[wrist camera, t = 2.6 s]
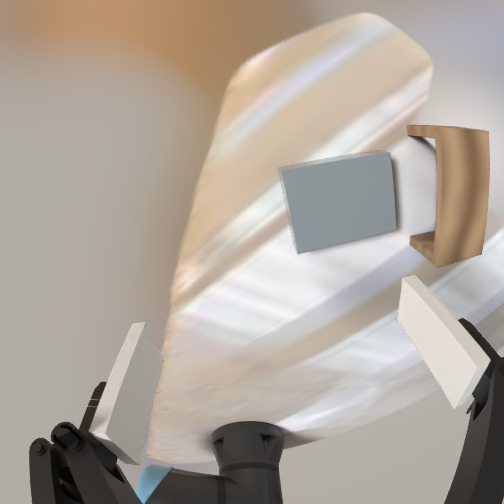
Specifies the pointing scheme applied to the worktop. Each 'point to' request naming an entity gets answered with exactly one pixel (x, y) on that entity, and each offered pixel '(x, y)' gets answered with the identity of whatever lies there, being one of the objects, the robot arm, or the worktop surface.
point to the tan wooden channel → (457, 194)
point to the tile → (339, 199)
